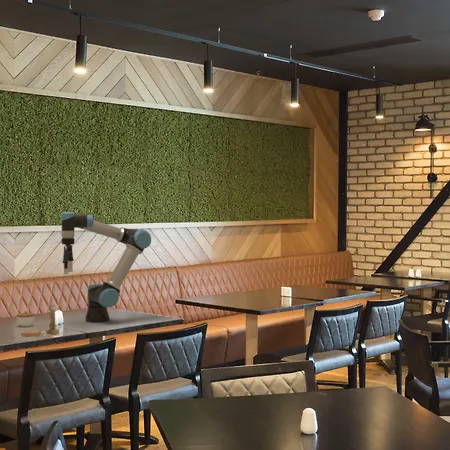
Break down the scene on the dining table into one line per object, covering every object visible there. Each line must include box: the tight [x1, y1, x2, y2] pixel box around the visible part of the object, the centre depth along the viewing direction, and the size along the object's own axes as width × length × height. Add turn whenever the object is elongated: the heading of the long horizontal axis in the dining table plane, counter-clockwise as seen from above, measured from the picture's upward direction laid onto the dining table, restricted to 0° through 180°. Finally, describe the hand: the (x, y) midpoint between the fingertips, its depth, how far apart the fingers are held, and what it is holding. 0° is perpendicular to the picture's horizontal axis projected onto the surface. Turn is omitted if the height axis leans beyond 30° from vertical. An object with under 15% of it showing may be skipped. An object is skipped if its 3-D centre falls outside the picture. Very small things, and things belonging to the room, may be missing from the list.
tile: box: [20, 329, 43, 338], centre depth 412 cm, size 9×2×11 cm
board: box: [17, 330, 46, 338], centre depth 414 cm, size 12×18×1 cm, turn 2°
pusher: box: [45, 304, 60, 336], centre depth 414 cm, size 6×6×16 cm
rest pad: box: [42, 331, 62, 337], centre depth 414 cm, size 9×9×1 cm
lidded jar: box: [16, 311, 36, 328], centre depth 441 cm, size 11×11×9 cm
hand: (68, 273), depth 438 cm, fingers open, 13 cm apart
